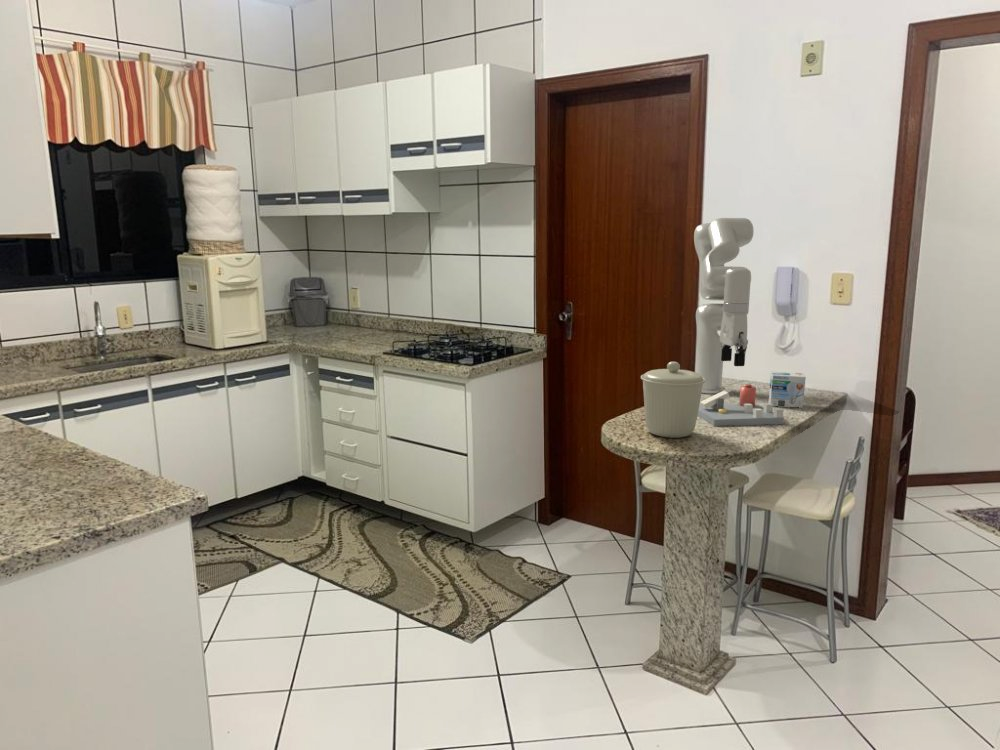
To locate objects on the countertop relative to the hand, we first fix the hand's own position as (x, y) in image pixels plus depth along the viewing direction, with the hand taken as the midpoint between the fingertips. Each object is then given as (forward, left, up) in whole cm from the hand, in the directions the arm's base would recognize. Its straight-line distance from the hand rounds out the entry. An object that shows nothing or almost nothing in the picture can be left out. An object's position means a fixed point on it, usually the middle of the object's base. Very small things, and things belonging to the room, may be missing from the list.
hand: (732, 363), depth 240 cm
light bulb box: (-11, +25, -17) cm, 32 cm away
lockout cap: (-4, +8, -15) cm, 17 cm away
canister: (+19, -26, -17) cm, 37 cm away
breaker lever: (0, -4, -11) cm, 12 cm away
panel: (+3, +1, -17) cm, 17 cm away
